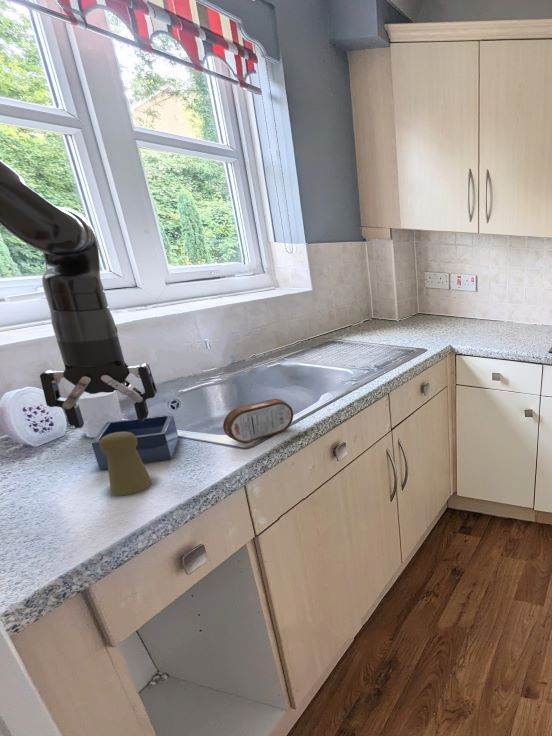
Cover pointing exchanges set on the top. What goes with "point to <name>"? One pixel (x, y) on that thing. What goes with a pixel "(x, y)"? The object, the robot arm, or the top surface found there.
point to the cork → (124, 464)
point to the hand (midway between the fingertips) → (112, 423)
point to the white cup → (98, 411)
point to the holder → (142, 438)
